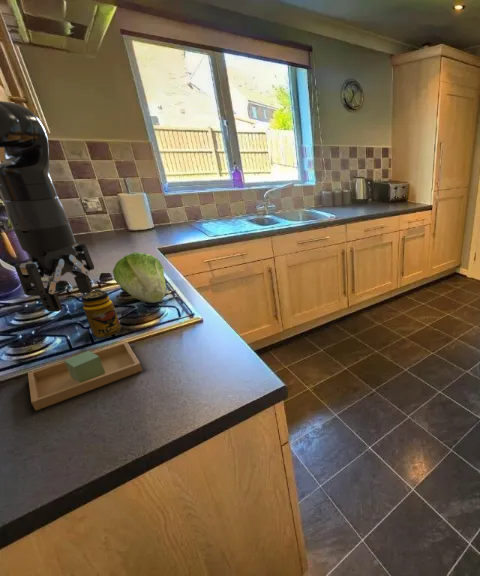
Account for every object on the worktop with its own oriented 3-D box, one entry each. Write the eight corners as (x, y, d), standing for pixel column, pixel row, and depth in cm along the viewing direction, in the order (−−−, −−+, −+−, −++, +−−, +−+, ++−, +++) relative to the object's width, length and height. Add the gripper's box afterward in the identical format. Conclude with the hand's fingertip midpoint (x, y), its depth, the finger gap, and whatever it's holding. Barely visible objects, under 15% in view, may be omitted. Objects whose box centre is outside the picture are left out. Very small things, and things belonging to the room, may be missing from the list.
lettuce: (184, 307, 111) (133, 324, 103) (164, 276, 126) (118, 288, 117) (172, 272, 103) (116, 287, 95) (153, 243, 118) (103, 253, 109)
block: (81, 384, 71) (73, 367, 69) (71, 377, 73) (63, 360, 71) (105, 372, 74) (99, 356, 72) (95, 366, 76) (88, 350, 74)
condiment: (115, 339, 88) (101, 299, 83) (78, 342, 86) (62, 301, 81) (128, 325, 94) (116, 287, 89) (95, 328, 92) (80, 289, 88)
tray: (36, 412, 64) (31, 402, 63) (32, 382, 72) (27, 372, 71) (143, 372, 76) (140, 363, 75) (129, 350, 84) (126, 341, 82)
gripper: (49, 215, 67) (77, 287, 73) (-21, 232, 54) (20, 318, 60) (90, 215, 68) (113, 287, 74) (30, 232, 55) (65, 317, 61)
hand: (71, 301), depth 67 cm, fingers open, 8 cm apart
